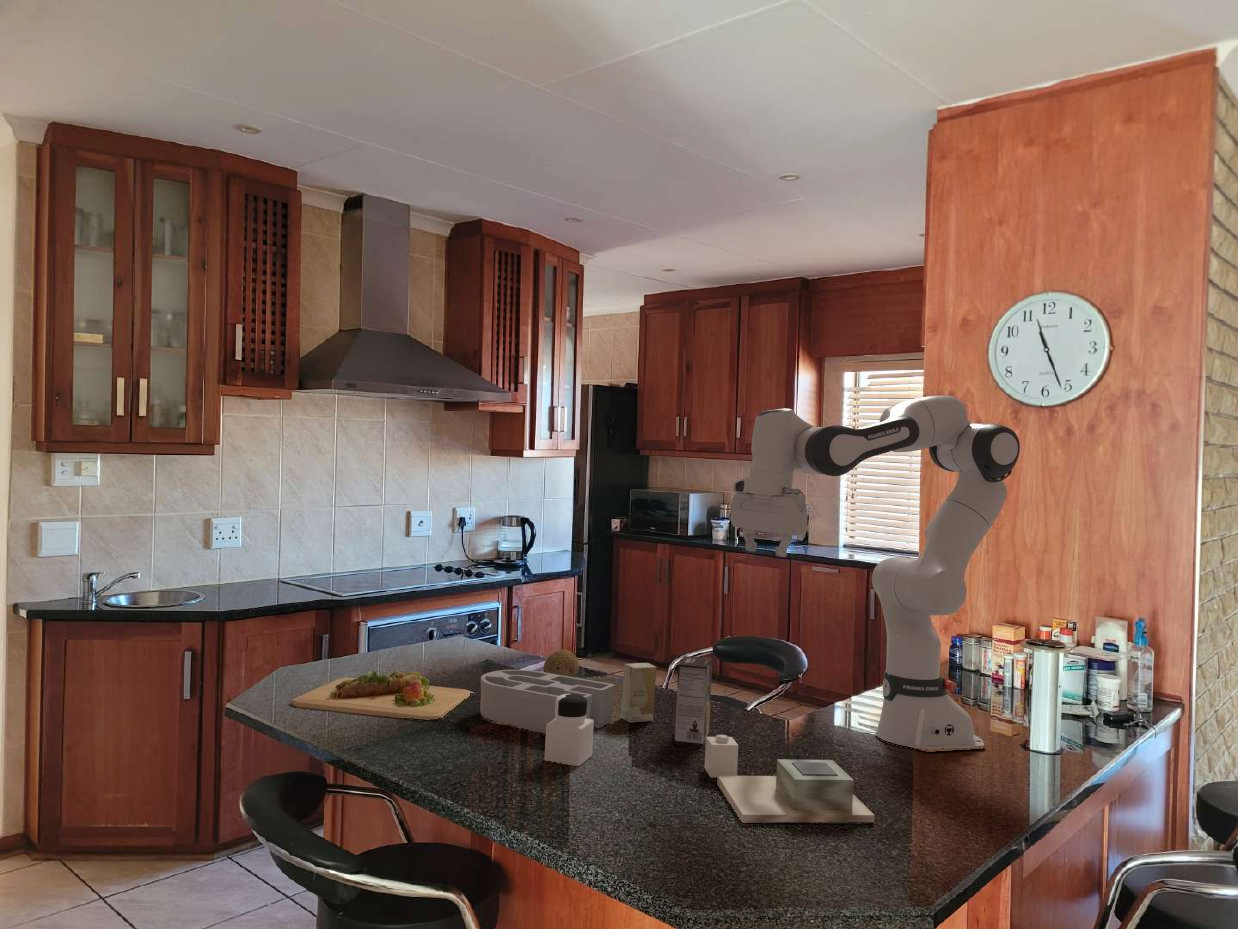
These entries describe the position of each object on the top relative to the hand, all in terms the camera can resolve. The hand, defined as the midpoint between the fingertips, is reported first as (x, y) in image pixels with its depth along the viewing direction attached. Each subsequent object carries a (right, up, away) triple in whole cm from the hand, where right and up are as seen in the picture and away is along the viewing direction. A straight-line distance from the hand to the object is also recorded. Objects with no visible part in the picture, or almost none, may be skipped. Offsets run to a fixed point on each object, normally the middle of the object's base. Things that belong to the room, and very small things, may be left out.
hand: (765, 553), depth 186 cm
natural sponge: (-45, -38, +39) cm, 70 cm away
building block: (-11, -39, -17) cm, 44 cm away
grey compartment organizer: (-48, -38, +11) cm, 62 cm away
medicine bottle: (-40, -38, -13) cm, 57 cm away
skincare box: (-26, -39, +16) cm, 49 cm away
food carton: (-15, -39, +5) cm, 42 cm away
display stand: (-1, -40, -31) cm, 50 cm away
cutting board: (-84, -37, +21) cm, 94 cm away
